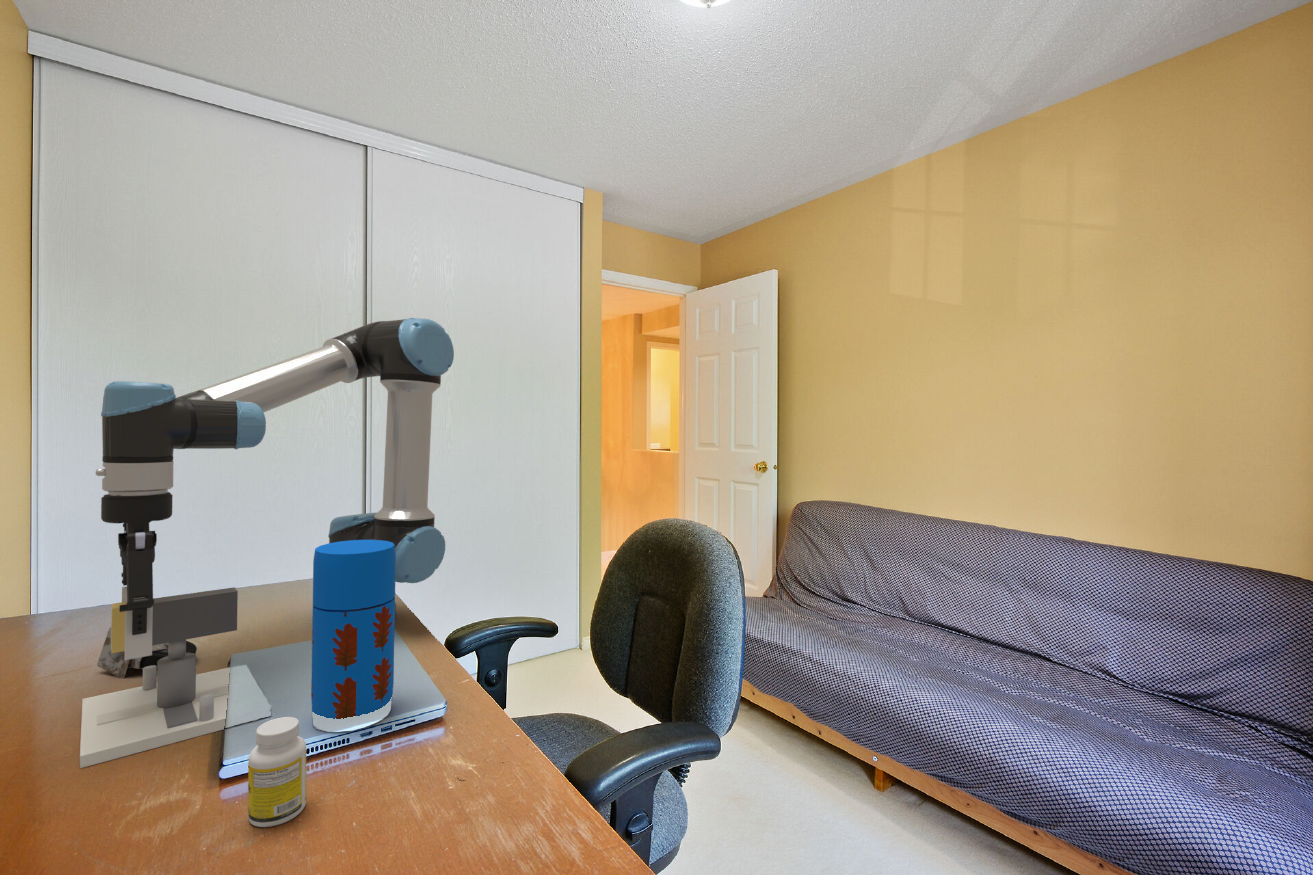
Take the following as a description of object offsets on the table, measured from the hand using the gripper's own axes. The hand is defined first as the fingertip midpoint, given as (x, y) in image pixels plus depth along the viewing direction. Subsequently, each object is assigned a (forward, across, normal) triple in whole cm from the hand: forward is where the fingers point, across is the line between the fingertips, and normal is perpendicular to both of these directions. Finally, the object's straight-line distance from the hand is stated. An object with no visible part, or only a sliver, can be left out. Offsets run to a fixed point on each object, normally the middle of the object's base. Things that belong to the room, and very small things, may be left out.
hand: (135, 642), depth 83 cm
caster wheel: (+12, -23, +3) cm, 26 cm away
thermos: (+12, +17, +24) cm, 31 cm away
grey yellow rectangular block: (+3, 0, +5) cm, 5 cm away
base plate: (+11, 0, +5) cm, 12 cm away
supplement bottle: (+12, +35, +11) cm, 38 cm away
